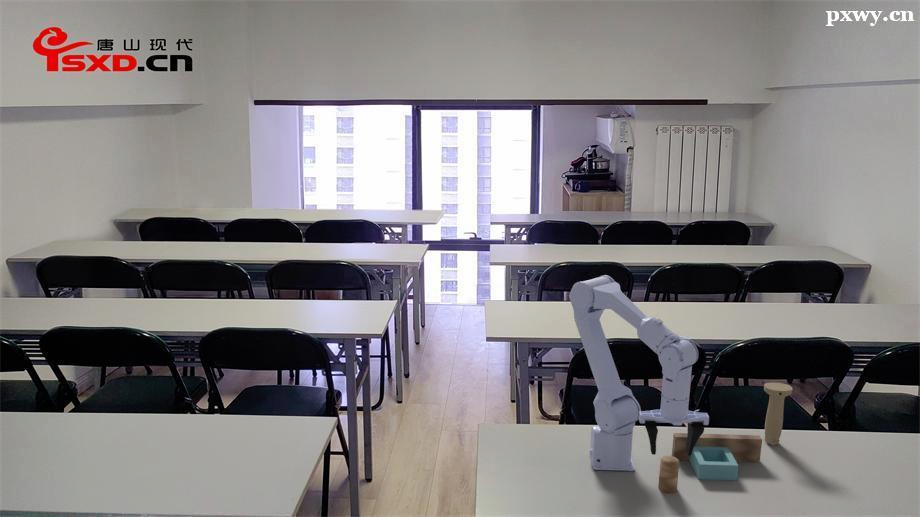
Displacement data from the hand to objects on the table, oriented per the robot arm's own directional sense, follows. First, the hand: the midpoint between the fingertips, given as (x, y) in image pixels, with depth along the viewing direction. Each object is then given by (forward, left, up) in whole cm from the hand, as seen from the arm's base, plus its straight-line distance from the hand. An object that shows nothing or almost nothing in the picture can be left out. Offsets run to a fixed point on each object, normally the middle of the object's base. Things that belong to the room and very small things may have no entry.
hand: (670, 452), depth 176 cm
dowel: (0, 0, -9) cm, 9 cm away
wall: (+14, +14, -9) cm, 22 cm away
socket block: (+12, +9, -9) cm, 17 cm away
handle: (+30, +23, -9) cm, 39 cm away
